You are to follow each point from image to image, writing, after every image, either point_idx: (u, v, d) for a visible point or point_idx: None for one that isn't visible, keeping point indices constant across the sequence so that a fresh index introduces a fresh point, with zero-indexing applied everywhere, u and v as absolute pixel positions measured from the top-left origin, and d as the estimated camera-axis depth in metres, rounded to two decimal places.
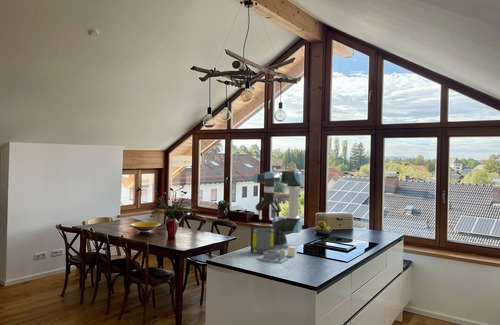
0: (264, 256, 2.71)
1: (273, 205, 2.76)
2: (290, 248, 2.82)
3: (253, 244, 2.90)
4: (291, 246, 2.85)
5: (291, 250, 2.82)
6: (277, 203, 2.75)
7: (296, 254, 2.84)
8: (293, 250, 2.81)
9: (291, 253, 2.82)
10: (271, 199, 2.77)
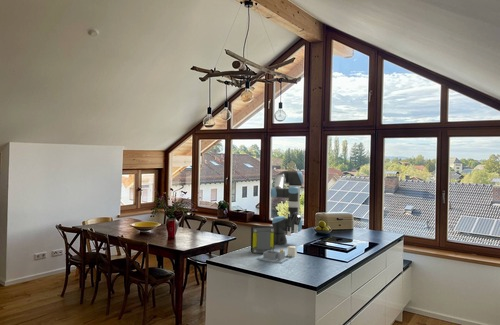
0: (264, 256, 2.71)
1: None
2: (290, 248, 2.82)
3: (253, 244, 2.90)
4: (291, 246, 2.85)
5: (292, 250, 2.82)
6: (288, 218, 2.77)
7: (296, 254, 2.84)
8: (293, 250, 2.81)
9: (291, 253, 2.82)
10: None
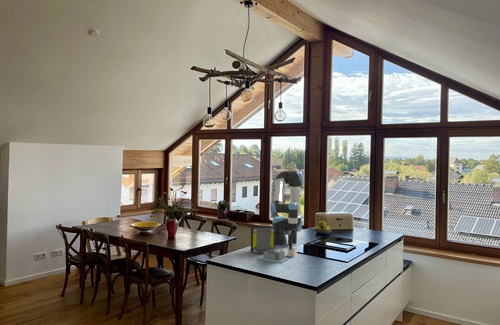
0: (264, 256, 2.71)
1: None
2: None
3: (253, 244, 2.90)
4: None
5: None
6: (289, 236, 2.79)
7: (296, 254, 2.84)
8: (293, 250, 2.81)
9: None
10: None
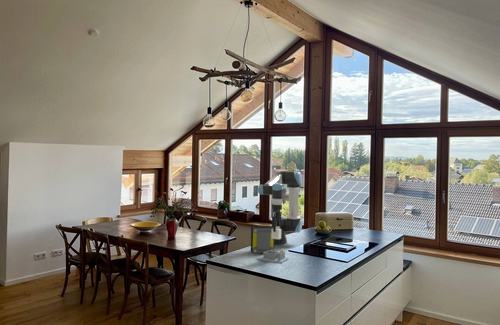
0: (264, 256, 2.71)
1: None
2: None
3: (253, 244, 2.90)
4: None
5: None
6: (272, 218, 2.69)
7: (280, 236, 2.74)
8: (277, 232, 2.71)
9: None
10: None
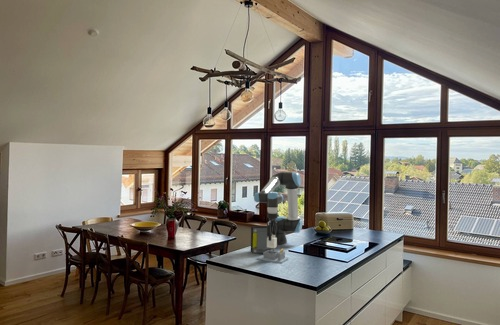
0: (264, 256, 2.71)
1: None
2: None
3: (253, 244, 2.90)
4: None
5: None
6: (268, 227, 2.67)
7: (276, 245, 2.72)
8: (273, 241, 2.69)
9: None
10: None
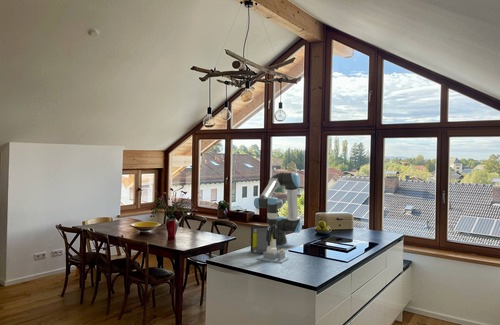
0: (264, 256, 2.71)
1: None
2: None
3: (253, 244, 2.90)
4: (271, 247, 2.74)
5: (271, 251, 2.70)
6: (267, 232, 2.67)
7: None
8: (273, 252, 2.70)
9: None
10: None
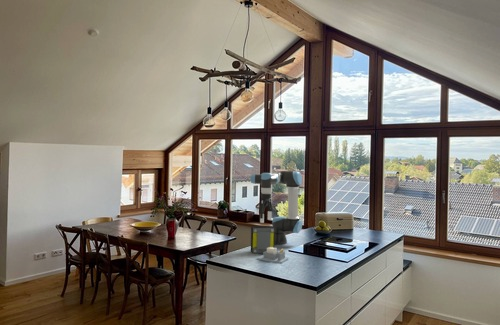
0: (264, 256, 2.71)
1: None
2: (269, 249, 2.71)
3: (253, 244, 2.90)
4: (271, 247, 2.74)
5: (271, 251, 2.70)
6: (261, 205, 2.71)
7: None
8: (273, 252, 2.70)
9: None
10: None
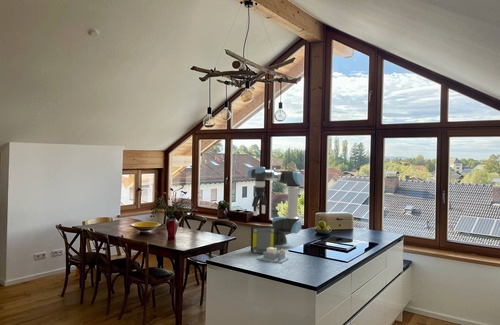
0: (264, 256, 2.71)
1: None
2: (269, 249, 2.71)
3: (253, 244, 2.90)
4: (271, 247, 2.74)
5: (271, 251, 2.70)
6: (254, 198, 2.76)
7: None
8: (273, 252, 2.70)
9: None
10: None
